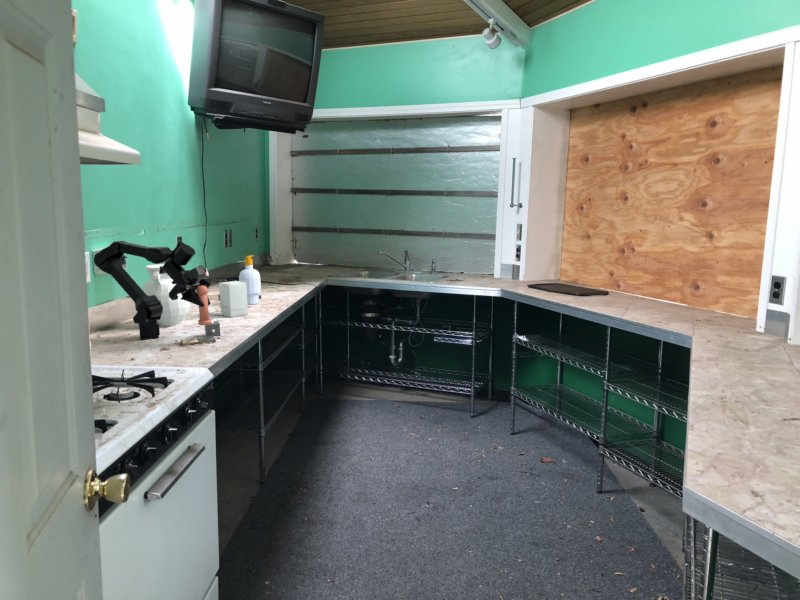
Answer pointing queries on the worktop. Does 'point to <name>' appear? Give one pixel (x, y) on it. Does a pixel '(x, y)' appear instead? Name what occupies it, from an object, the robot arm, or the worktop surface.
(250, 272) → the soap bottle
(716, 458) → the worktop surface
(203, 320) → the pawn
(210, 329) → the die
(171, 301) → the pitcher
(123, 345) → the worktop surface
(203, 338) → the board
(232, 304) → the supplement box
